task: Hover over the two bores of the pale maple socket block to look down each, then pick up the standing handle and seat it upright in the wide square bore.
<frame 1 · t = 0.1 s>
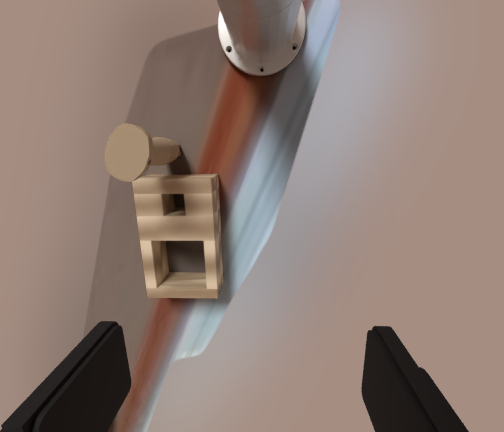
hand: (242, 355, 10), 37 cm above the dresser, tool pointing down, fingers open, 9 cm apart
socket block: (188, 230, 48), on the dresser
handle: (172, 150, 45), on the dresser
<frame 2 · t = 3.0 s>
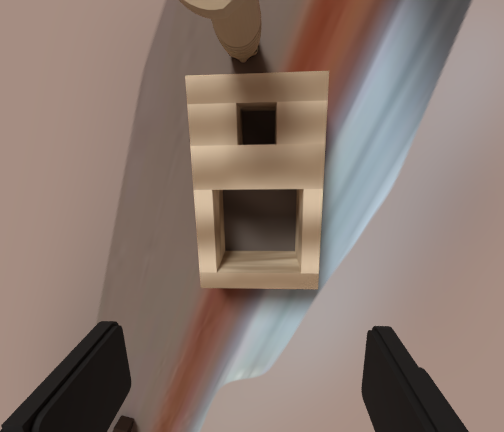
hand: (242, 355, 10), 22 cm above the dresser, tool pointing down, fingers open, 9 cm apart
socket block: (259, 183, 31), on the dresser
handle: (243, 46, 27), on the dresser
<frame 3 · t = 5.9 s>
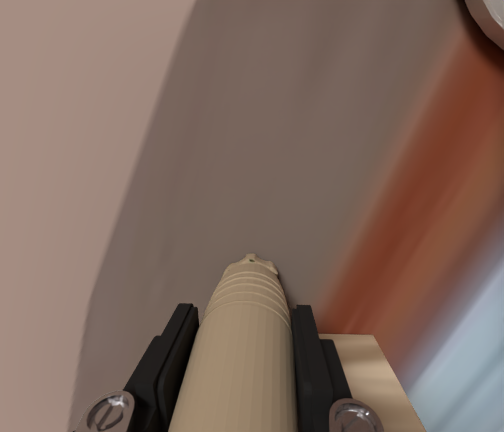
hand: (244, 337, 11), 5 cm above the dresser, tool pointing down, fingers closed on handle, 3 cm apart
handle: (252, 274, 16), on the dresser, touching gripper
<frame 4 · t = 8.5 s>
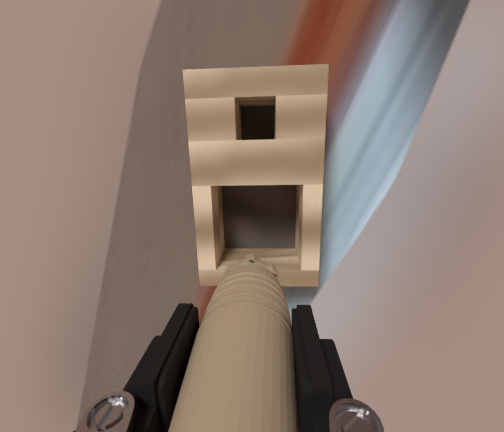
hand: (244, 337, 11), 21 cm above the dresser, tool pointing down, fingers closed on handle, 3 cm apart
socket block: (258, 179, 30), on the dresser
handle: (252, 275, 16), point 15 cm above the dresser, touching gripper
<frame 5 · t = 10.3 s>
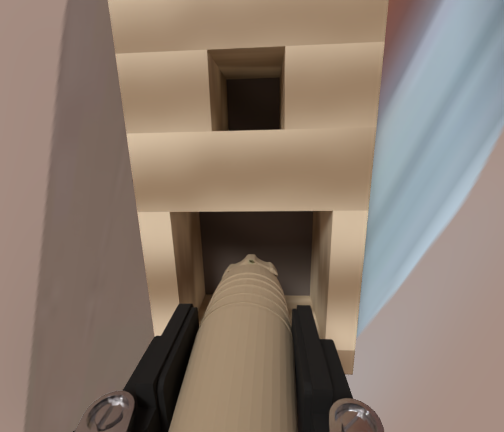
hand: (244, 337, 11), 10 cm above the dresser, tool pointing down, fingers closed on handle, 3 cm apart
socket block: (255, 194, 20), on the dresser
handle: (252, 275, 16), point 5 cm above the dresser, touching gripper
when the fingers open (7 cm above the dresser, at t = 11.4 s): handle drops 1 cm, resting on socket block.
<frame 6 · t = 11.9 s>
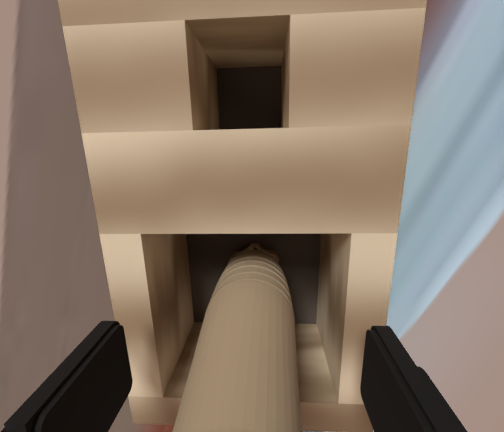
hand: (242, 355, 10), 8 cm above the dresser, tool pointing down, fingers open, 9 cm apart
socket block: (252, 206, 17), on the dresser
handle: (255, 263, 17), resting on socket block
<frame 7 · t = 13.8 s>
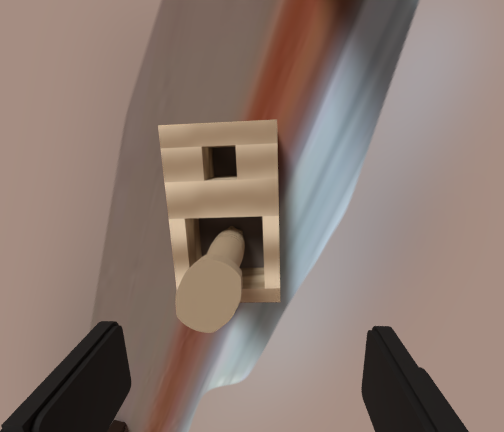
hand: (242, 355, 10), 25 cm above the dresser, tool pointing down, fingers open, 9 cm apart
socket block: (230, 208, 35), on the dresser
handle: (233, 236, 36), resting on socket block
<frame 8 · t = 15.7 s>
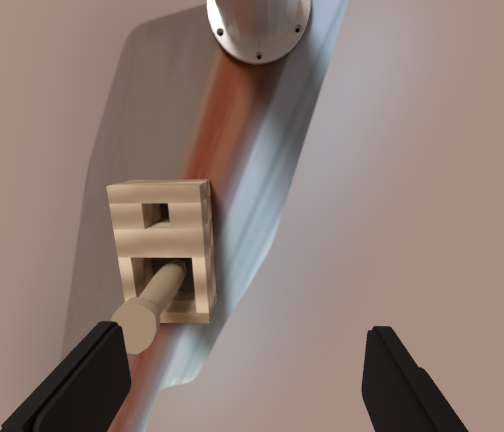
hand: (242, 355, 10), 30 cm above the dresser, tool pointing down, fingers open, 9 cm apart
socket block: (175, 243, 42), on the dresser
handle: (178, 265, 43), resting on socket block
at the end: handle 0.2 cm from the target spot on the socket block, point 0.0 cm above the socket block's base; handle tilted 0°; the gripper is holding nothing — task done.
